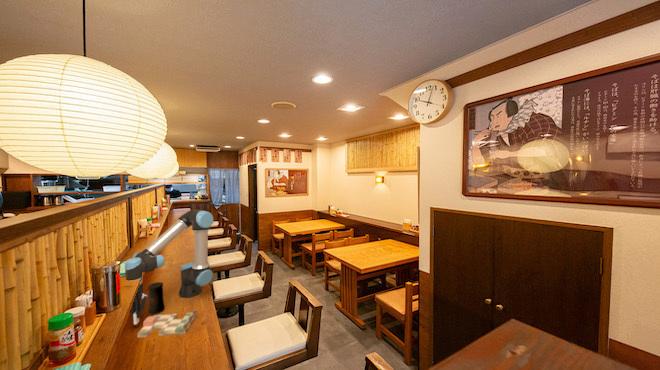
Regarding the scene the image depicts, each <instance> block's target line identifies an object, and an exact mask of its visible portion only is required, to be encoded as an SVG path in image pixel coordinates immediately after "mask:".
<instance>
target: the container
mask: <svg viewBox="0 0 660 370" xmlns="http://www.w3.org/2000/svg"><path fill="white" fill-rule="evenodd" d="M163 285H164V283H163V282H161V281H160V282H154V283H151V284H148V286H147V290H148V311H147V312H148V315H150V316H154V315H159V314H160V313H162V312H164V311H165V304H164V289H163V287H164V286H163Z"/></svg>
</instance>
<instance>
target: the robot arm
mask: <svg viewBox="0 0 660 370" xmlns="http://www.w3.org/2000/svg"><path fill="white" fill-rule="evenodd" d="M213 224H214V216H213V214H212V213H211V212H209V211H207V210H201V209H196V208H195V209H190V210H188V211H185V212H184V214H181V216H180V217H178V218H177V219H176V221H175V222H174V223H173V224H172V225H171V226H170V227H168V229H167V230H165V231H164V232H163V233H161V235H159V236H158V237H157V238H156V239H155V240H153V242H151V243H150V244H149V245H148V246H147V247H145V248H144V249H143V250H142V251H138V252H136V253H134V254H133V256H132V258H129V259H127V260H126V261H125V262H124V264H125V265H124V270H125V271H124V272H125V273H124V274H125V282H126V281H127V280H128V281H130V280H132V281H134V280H141V278H142V280H141V282H140V285H139V288H138V291H137V293H136V296H135V299H134V302H133V305H132V308H131V310H130V313H129V314H131V319H133V325H138V323H139V322H140V318H141V313H142V312H143V311H144V309H145V307H146V301H147V299H148V298H149V293H148V294H146V293H144V291H143V289H144V285H143V273H146V272H149V271H152V270H155V269H159V268H162V267H163V266H164V265H165V257H164V255H162V254H159V253H160V252H161V251H162V250H163V249H164V248H166V246H168V245H169V244H170V243H171V242H172V241H173V240H174V239H175V238H176V237H177V236H179V235H180V234H181V233H182V232H184V230H187V229H189V228H190V227H191V231H192V232H194V246H193V248H194V251H193V252H194V253H193V256H194V257H193V259H194V261H190V262H187V263H186V262H185V263H183V264H182V265H181V266H180V287H179V290H178V296H179V298H184V299H188V298H192V297H195V296H198V295H199V294H201V293H202V291H201V290H202V287H203V286H206V285H208V284H209V283H210V282H211V281H212V279H213V277H214V273H213V271H212V270H211V269H210V267H211V266H210V263H209V262H208V259H209V258H208V254H209V251H208V250H209V249H208V248H209V247H208V246H209V245H208V244H209V241H208V240H209V239H208V238H209V231H210V230H211V227H212V225H213Z"/></svg>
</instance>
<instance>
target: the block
mask: <svg viewBox="0 0 660 370" xmlns="http://www.w3.org/2000/svg"><path fill="white" fill-rule="evenodd" d="M142 322H143V323H142V324H143V327H146V326H153V325H154V324H155V323H156V322H157V316H154V315H150V316H147V317H146V318H145V319H144V321H142Z"/></svg>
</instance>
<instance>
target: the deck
mask: <svg viewBox="0 0 660 370" xmlns="http://www.w3.org/2000/svg"><path fill="white" fill-rule="evenodd" d="M153 316H157V322H156V323H155V324H154V325H153V326H146V327H144V326H143V327H142V328H141V329H140V330H138V332H137V334H136V335H137V338H138V339H139V338H148V337H149V336H150V335H151V334H152V332H153V331H154V330H155V331H157V330H159V331H158V336H159V337H160V336H161V337H162V336H169V335H170V336H171V335H185V334H186V333H187V332H188V330H189V328H190V326H191V325H192V323H193V322H194V320H195V318H196V317H197V309H195V308H194V309H193V310H192V312H186V314H185V315H184V317H183V318H178V313H167V314H154V315H153Z"/></svg>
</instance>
